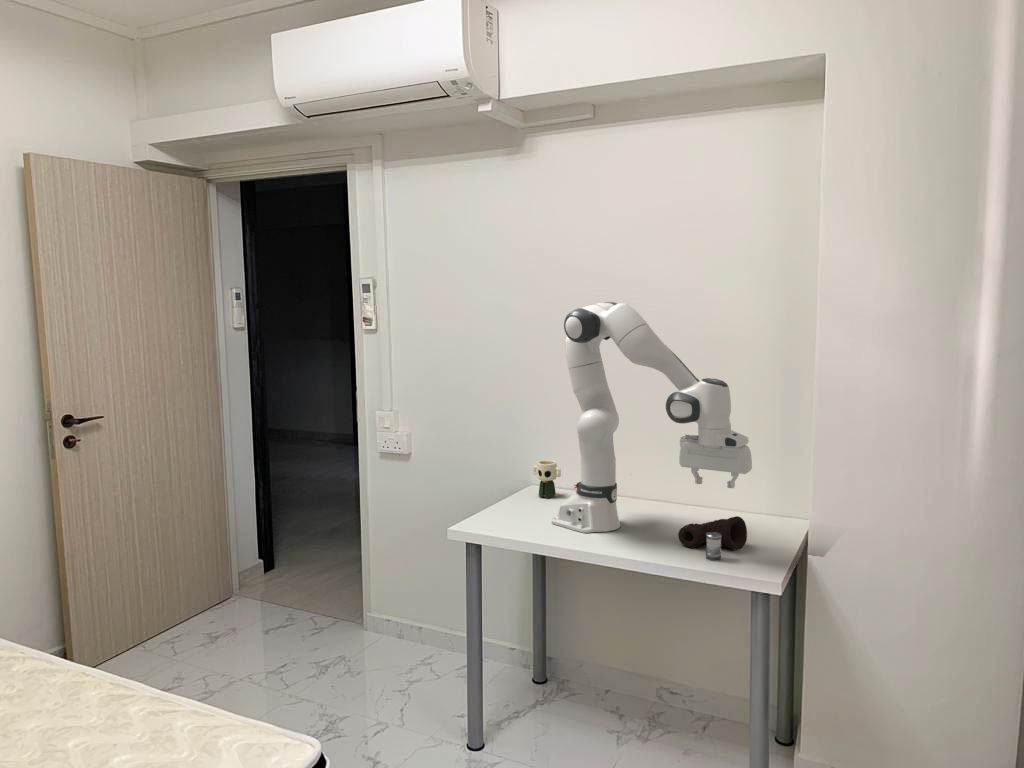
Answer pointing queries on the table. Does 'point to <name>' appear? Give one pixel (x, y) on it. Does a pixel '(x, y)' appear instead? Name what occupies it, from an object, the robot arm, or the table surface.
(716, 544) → the container
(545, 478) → the character mug
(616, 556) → the table surface
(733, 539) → the pipe
